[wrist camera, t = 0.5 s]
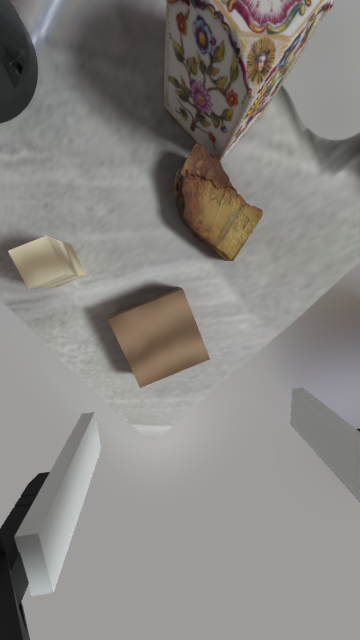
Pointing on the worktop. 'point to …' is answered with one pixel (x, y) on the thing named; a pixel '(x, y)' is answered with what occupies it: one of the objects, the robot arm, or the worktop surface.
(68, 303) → the worktop surface
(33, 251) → the oak block
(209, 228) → the stone
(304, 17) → the decorative jar
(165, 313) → the plinth
